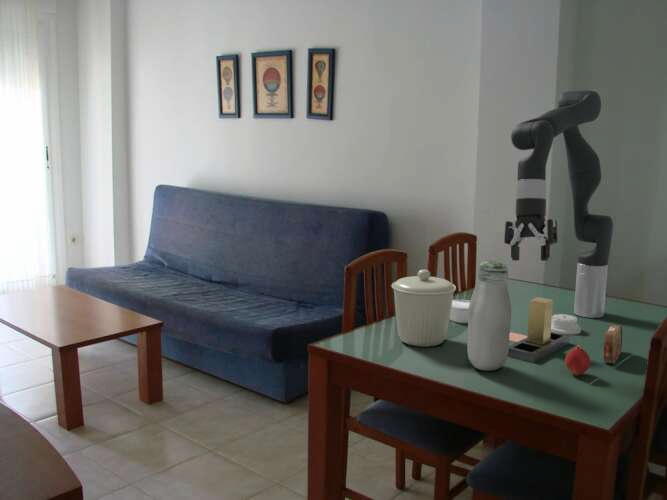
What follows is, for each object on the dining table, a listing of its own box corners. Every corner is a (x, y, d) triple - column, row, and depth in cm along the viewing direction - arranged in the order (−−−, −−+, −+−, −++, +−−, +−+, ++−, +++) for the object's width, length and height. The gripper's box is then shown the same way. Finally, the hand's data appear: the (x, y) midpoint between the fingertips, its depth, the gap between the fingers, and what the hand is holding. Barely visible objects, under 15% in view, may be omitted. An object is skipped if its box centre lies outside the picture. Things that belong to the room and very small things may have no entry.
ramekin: (478, 315, 211) (479, 299, 210) (483, 325, 200) (483, 309, 199) (444, 314, 212) (444, 298, 211) (446, 324, 201) (447, 307, 200)
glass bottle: (483, 378, 156) (488, 266, 151) (459, 364, 166) (463, 258, 161) (515, 372, 160) (522, 263, 155) (490, 359, 169) (495, 255, 164)
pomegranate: (560, 371, 161) (562, 341, 160) (582, 371, 162) (584, 340, 160) (570, 380, 156) (572, 349, 154) (593, 379, 156) (595, 348, 155)
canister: (416, 328, 197) (418, 260, 193) (466, 341, 184) (469, 270, 180) (377, 341, 184) (378, 269, 180) (427, 356, 172) (430, 280, 168)
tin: (613, 368, 164) (615, 337, 162) (600, 366, 165) (602, 334, 164) (622, 352, 176) (624, 322, 175) (609, 349, 178) (612, 320, 176)
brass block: (526, 349, 177) (529, 300, 175) (534, 345, 180) (537, 297, 178) (542, 352, 174) (545, 303, 172) (549, 349, 177) (552, 299, 175)
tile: (499, 338, 187) (499, 337, 187) (511, 333, 192) (511, 332, 192) (521, 344, 182) (521, 342, 182) (533, 338, 187) (533, 337, 187)
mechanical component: (548, 334, 192) (583, 337, 190) (549, 320, 191) (584, 322, 189) (544, 325, 201) (577, 327, 199) (545, 311, 200) (578, 313, 198)
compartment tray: (533, 363, 167) (533, 354, 166) (505, 356, 172) (505, 347, 172) (569, 344, 182) (569, 335, 182) (542, 337, 188) (543, 329, 187)
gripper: (563, 197, 164) (562, 261, 163) (516, 201, 175) (514, 260, 174) (547, 194, 159) (546, 260, 158) (499, 198, 170) (498, 259, 169)
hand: (529, 260), depth 166 cm, fingers open, 8 cm apart
